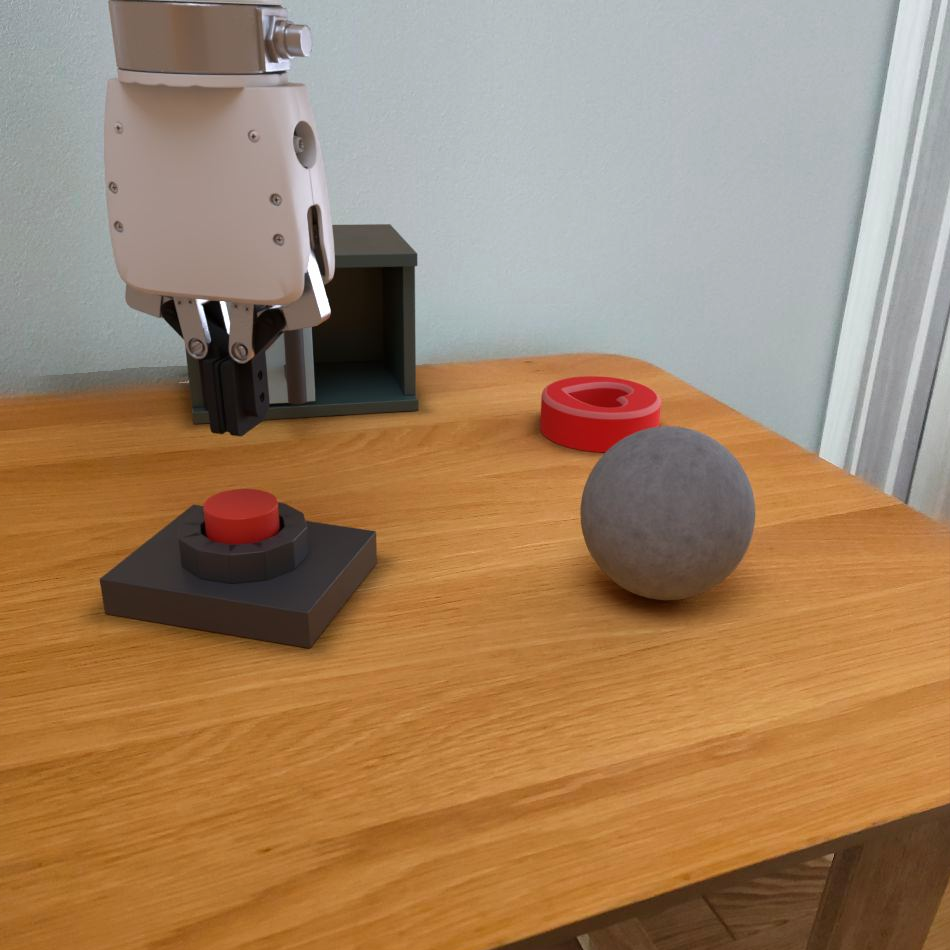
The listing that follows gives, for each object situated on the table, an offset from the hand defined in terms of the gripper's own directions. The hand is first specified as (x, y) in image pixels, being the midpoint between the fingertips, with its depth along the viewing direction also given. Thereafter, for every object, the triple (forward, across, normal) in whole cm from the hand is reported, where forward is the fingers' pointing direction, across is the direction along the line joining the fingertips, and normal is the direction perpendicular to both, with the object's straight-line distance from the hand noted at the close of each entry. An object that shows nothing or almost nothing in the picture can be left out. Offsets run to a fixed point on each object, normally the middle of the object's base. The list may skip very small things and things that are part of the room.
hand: (239, 425), depth 57 cm
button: (+6, 0, 0) cm, 6 cm away
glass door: (+8, +11, -23) cm, 27 cm away
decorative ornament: (+10, -14, -32) cm, 37 cm away
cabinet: (+10, +12, -32) cm, 35 cm away
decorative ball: (+10, -22, -7) cm, 26 cm away
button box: (+10, 0, 0) cm, 10 cm away
